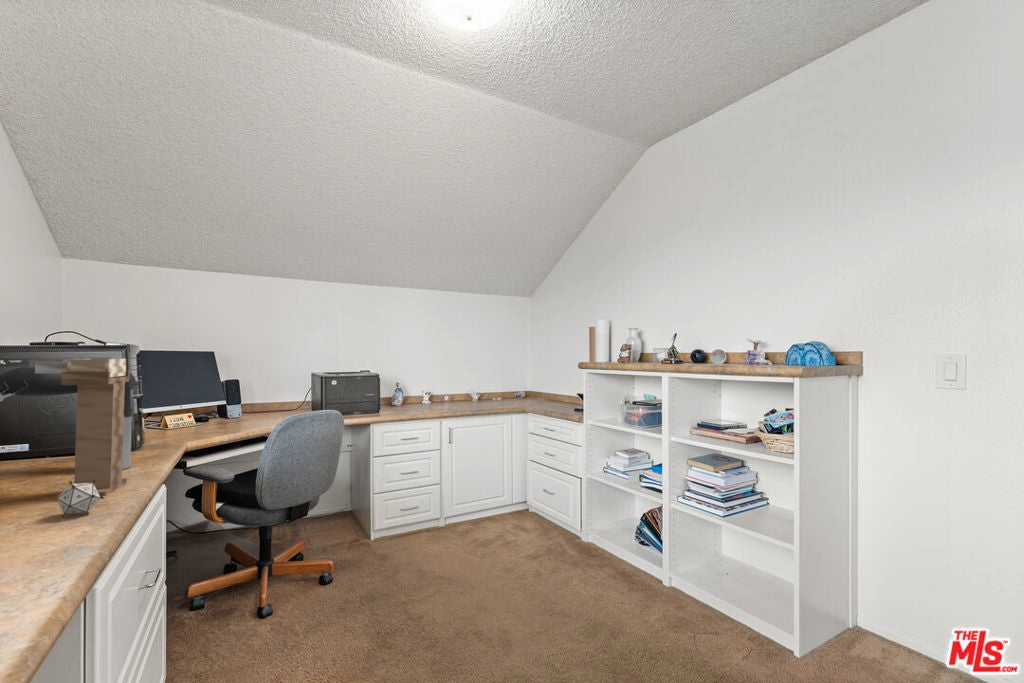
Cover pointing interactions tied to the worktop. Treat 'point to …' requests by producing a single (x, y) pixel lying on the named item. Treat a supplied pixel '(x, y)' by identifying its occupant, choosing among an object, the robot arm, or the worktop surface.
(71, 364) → the tray
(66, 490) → the game die
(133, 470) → the worktop surface
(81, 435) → the stand
